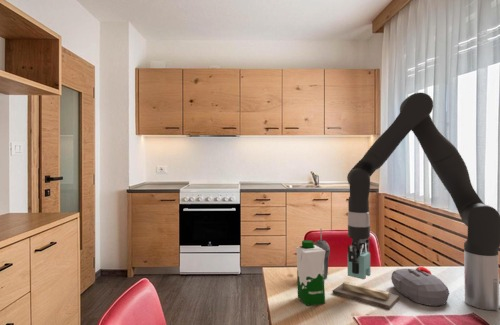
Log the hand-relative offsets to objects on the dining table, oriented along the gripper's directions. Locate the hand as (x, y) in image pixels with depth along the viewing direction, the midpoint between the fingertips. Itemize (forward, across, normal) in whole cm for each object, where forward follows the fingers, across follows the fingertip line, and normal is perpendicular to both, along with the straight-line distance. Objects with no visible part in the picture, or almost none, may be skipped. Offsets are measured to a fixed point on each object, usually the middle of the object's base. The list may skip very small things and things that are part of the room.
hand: (359, 270), depth 116 cm
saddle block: (+2, 0, 0) cm, 2 cm away
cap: (+9, +28, -14) cm, 33 cm away
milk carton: (+9, -15, +11) cm, 21 cm away
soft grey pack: (+9, +13, -17) cm, 23 cm away
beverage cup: (+9, +7, +19) cm, 22 cm away
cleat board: (+9, 0, -2) cm, 9 cm away
